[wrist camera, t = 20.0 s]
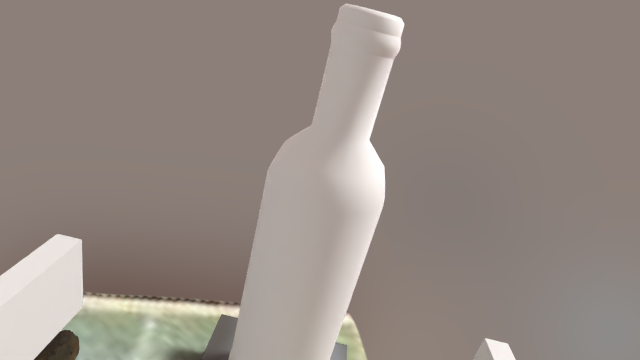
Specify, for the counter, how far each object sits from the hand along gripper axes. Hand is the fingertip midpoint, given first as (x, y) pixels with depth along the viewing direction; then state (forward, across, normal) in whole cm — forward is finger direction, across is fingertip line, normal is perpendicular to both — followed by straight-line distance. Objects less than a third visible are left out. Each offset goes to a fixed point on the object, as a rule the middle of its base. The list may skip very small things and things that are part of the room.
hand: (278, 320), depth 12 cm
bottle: (+13, +1, -20) cm, 24 cm away
